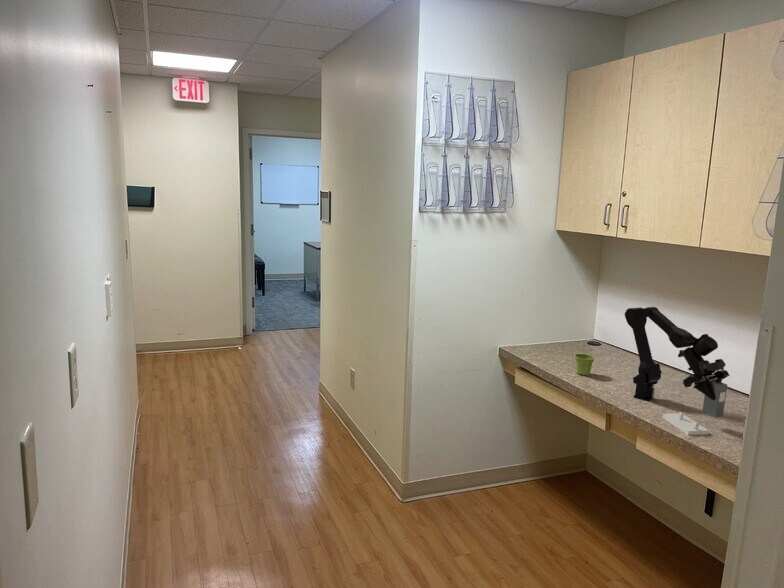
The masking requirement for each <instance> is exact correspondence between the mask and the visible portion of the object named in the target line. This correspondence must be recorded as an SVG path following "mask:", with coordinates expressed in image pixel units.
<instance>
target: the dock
mask: <svg viewBox="0 0 784 588" xmlns="http://www.w3.org/2000/svg"><path fill="white" fill-rule="evenodd" d="M662 418H663V419H664V420H666V421H667V422H669V423H670V425H671V424H672V425H673V426H674V427H675V428H677V429H679V430H680V431H682V432H683V433H685V434H686V435H688V436H692V435H693V436H696V435H709V434H710V433H709V431H710V430H708V428H706V427H704V426H702V425H701V424H700V422H698V421H695V420H694V419H692V418H690V417H689V416H687V415H685V414H684V412H683V411H682V412H679V413H663V414H662Z"/></svg>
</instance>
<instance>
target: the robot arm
mask: <svg viewBox="0 0 784 588" xmlns="http://www.w3.org/2000/svg"><path fill="white" fill-rule="evenodd" d="M624 317H625V320H626V323H627V325H628V326H629V327H630V328H631V329H632V331H633V337H634V340H635V346H636V349H637V353H638V358H639V365H638V369H637V370H638V374H637V375H635V376H634V377H632V379H633V380H632V382H633V383H634V384H635V393H634V395H633V398H636V399H639V400H644V401H647V402H648V401H649V402H650V401H651V400H652V399H654V397H655V388H654V386H655V385H657V384H658V382H659V381H660V379H661V377H662V373H663V372H662V370H661V365H660V363H659V362H658V363H656V362H655V361H654V359H653V356H652V350H651V347H650V344H649V339H648V334H647V330H646V325H647V322H648V321H647V320H648V319H649V320H651V321H652V322H653V323H654V324H655V325H656V326H657V327H658V328H660V329H661V331H663V332H664V333H665V334H666V335H667V336H668V340H669V342H670V343H671V344H672V346H674V347H675V348H677V349H680V350H679V353H678V355H677V357H678V358H684V360H685V361H686V363H687V365H688V366H689V367H688V368H687V370H688V371H689V372H690V371H691V372H692V374H691V375H689V376H687V377H686V378H684V379H683V380H682V381H683V382H682V384H683V386H684V388H690V387H692V388H693V389H695V390H697V391H699V392H700V393H702V394H703V395H704V396H705V395H706V396H707V397H709V398H710V399H712V400H715V397H714V394H713V392H712V391H711V389H710V387H709V381H710V380H716V381H719V382H721V383H723V382H722V381H723V380H725V379H726V378H727V377H728V378H729V376H730V374H729V372H728V370H725V367H726V362H725V361H724V360H723V359H722V358H718V359H715V360H714V362H710V361H709V360H706V359H704V357H707V356H708V355H710V354H711V353H712V352H714V351H715V350H717V349H718V348H719V344H718V341H717V340H715V339H714V338H713V337H711V336H709V334H708V333H703V334H701V335H700V336H699V337H698V338H697V337H696V336H694V335H693V334H692V333H691V332H689V331H688V330H687V329H683V328H681V327H679V326H678V325H676V324H674V322H673V321H671V320H670V319H669V318H668V317H667V316H666V315H665V314H663V313H662V312H661V311H660V310H659V308H658V307H656V306H647V307H629V308H627V309H626V310H625V312H624ZM683 348H684V349H683ZM693 384H694V386H692V385H693Z"/></svg>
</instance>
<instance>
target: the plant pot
mask: <svg viewBox="0 0 784 588" xmlns="http://www.w3.org/2000/svg"><path fill="white" fill-rule="evenodd" d="M573 356H574V359H575V373H576V372H577V373H578V374H577V373H576V374H577V375H579V374H580V375H581V374H582V376H584V375H585V376H589V375H590V373H591V370H592V366H593V363H594V360H596V358H595V357H596V356H594V355H591V354H588V353H575V354H574V355H573ZM588 374H589V375H588Z"/></svg>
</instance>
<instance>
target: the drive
mask: <svg viewBox="0 0 784 588" xmlns="http://www.w3.org/2000/svg"><path fill="white" fill-rule="evenodd" d="M709 387H710V389H711V391H712V392H713V394H714V397H715V400H712V399H710V398H709V397H707V396H706V395H705V394H704V398H703V403H702V414H705V415H708V416H710V417H713V418H715V419H716V418H722V417H724V411H725V410H724V409H725V404H726V403H725V402H726V398H727V390H728V384H727V383H725V382H719V381H716V380H710V381H709Z"/></svg>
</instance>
